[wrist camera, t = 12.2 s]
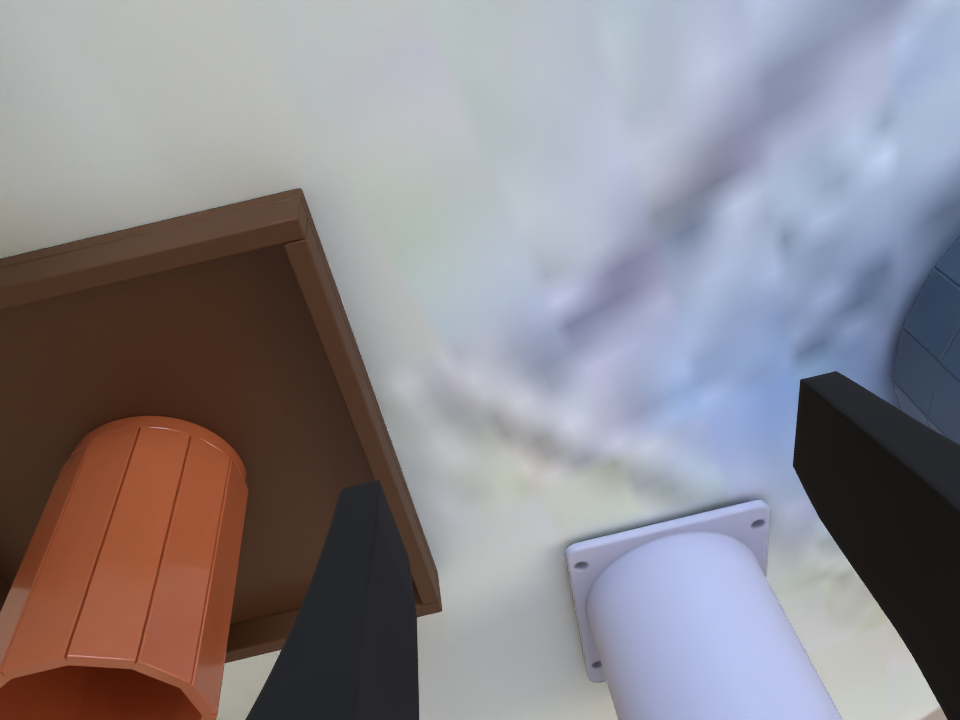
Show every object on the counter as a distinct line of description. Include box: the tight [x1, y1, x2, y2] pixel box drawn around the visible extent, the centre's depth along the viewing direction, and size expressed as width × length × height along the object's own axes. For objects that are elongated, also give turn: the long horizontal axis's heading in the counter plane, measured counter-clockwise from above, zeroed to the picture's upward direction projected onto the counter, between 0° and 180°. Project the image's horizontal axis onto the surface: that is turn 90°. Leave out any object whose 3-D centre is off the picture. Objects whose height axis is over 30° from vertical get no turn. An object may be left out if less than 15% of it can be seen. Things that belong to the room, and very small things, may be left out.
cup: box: [0, 415, 248, 720], centre depth 21 cm, size 5×5×8 cm
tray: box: [0, 189, 442, 663], centre depth 24 cm, size 16×14×2 cm
